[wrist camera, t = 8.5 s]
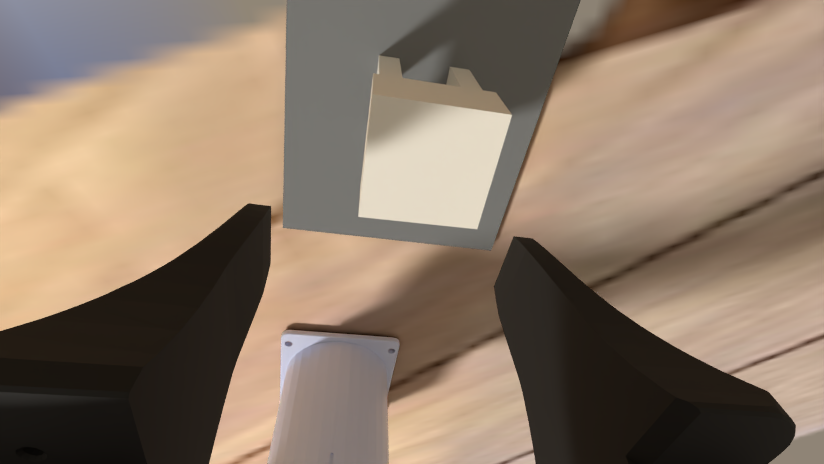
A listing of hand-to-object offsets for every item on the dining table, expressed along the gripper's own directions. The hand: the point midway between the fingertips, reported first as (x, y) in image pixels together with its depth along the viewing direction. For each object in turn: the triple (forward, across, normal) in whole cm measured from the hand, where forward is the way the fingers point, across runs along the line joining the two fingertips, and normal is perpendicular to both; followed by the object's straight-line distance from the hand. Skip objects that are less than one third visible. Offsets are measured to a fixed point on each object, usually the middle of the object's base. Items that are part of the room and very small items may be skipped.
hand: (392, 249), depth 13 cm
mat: (+10, -1, -1) cm, 10 cm away
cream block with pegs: (+10, -1, -1) cm, 10 cm away
